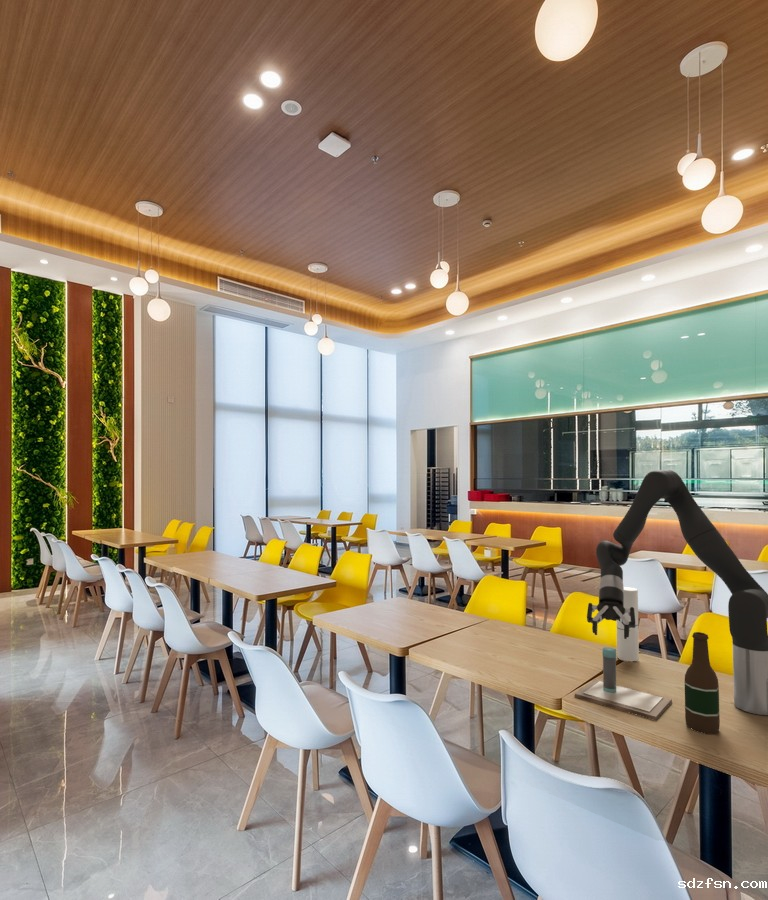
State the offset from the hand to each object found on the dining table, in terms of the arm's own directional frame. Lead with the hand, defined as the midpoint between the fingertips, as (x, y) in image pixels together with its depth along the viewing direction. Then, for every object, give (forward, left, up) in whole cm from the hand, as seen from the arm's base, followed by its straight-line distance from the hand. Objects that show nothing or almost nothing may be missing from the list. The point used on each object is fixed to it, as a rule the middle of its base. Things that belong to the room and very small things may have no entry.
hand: (610, 635), depth 164 cm
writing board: (-6, +8, -15) cm, 19 cm away
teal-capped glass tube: (-2, +7, -14) cm, 16 cm away
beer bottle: (-27, +12, -16) cm, 34 cm away
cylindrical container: (+5, -32, -16) cm, 36 cm away
